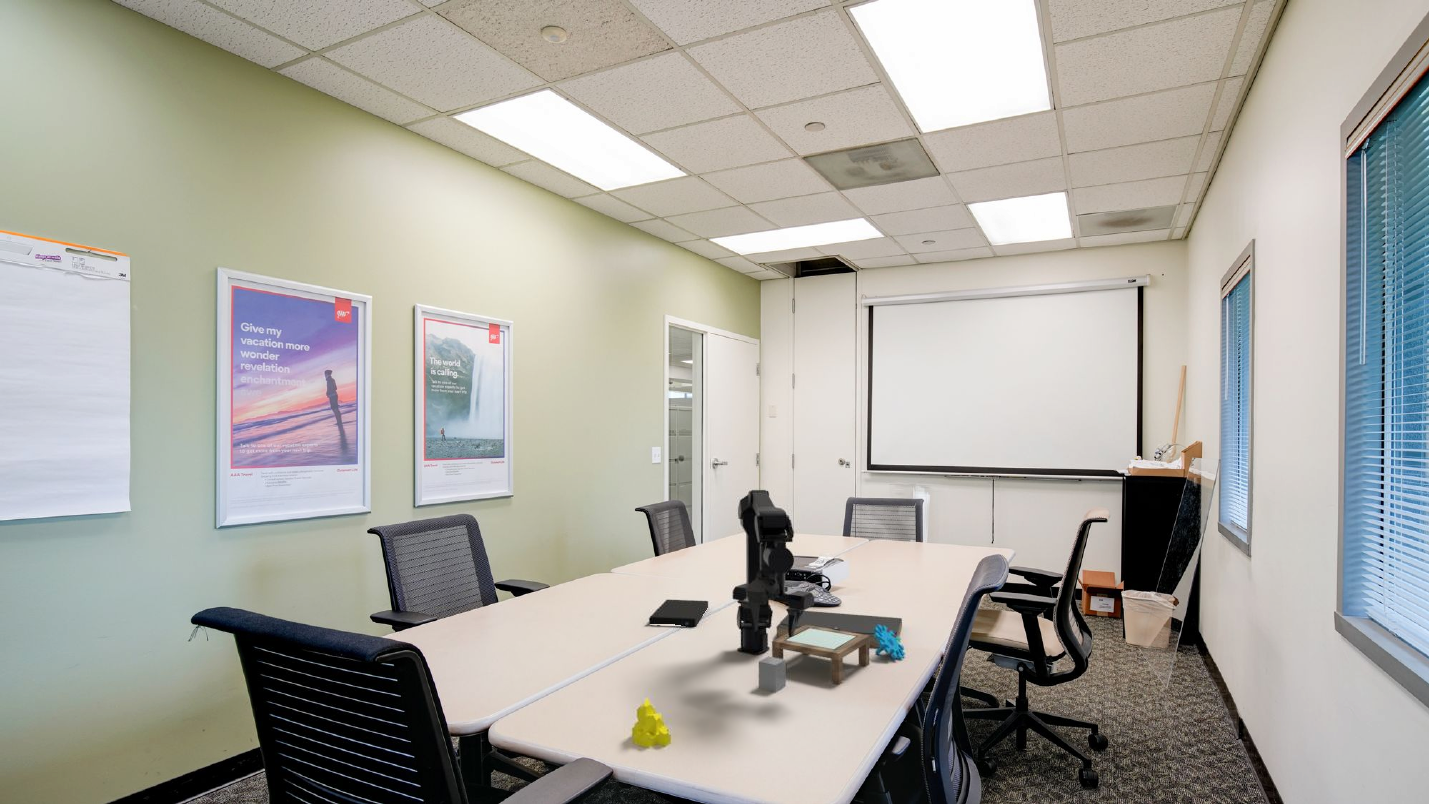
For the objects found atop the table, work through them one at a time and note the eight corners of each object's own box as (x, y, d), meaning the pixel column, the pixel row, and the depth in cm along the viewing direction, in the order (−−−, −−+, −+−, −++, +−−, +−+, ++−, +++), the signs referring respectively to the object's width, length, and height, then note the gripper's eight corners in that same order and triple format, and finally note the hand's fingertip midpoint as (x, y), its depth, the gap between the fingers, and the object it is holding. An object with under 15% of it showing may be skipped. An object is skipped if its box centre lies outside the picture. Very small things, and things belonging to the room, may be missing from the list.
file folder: (775, 625, 198) (793, 607, 221) (776, 640, 198) (793, 620, 221) (896, 636, 188) (901, 615, 211) (896, 651, 188) (902, 629, 211)
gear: (894, 658, 175) (870, 624, 181) (878, 672, 178) (855, 637, 183) (914, 654, 183) (891, 621, 189) (899, 667, 185) (877, 634, 191)
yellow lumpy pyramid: (658, 751, 128) (658, 708, 128) (624, 740, 132) (624, 699, 133) (677, 739, 133) (677, 698, 133) (644, 730, 137) (644, 689, 138)
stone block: (758, 688, 159) (758, 661, 160) (768, 682, 163) (768, 656, 163) (776, 692, 157) (775, 665, 157) (785, 686, 161) (785, 659, 161)
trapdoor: (809, 632, 183) (809, 628, 183) (856, 640, 176) (856, 636, 176) (785, 644, 173) (785, 640, 173) (833, 653, 165) (833, 649, 165)
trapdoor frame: (772, 669, 172) (772, 640, 172) (806, 651, 186) (805, 624, 187) (839, 684, 162) (838, 653, 162) (869, 663, 176) (869, 635, 176)
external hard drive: (708, 610, 233) (708, 600, 233) (695, 629, 210) (695, 618, 210) (666, 608, 235) (666, 599, 235) (649, 627, 212) (649, 617, 212)
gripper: (719, 566, 160) (719, 635, 159) (791, 575, 150) (792, 649, 149) (744, 559, 169) (745, 625, 168) (815, 567, 159) (815, 637, 158)
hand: (772, 634), depth 161 cm, fingers open, 9 cm apart
